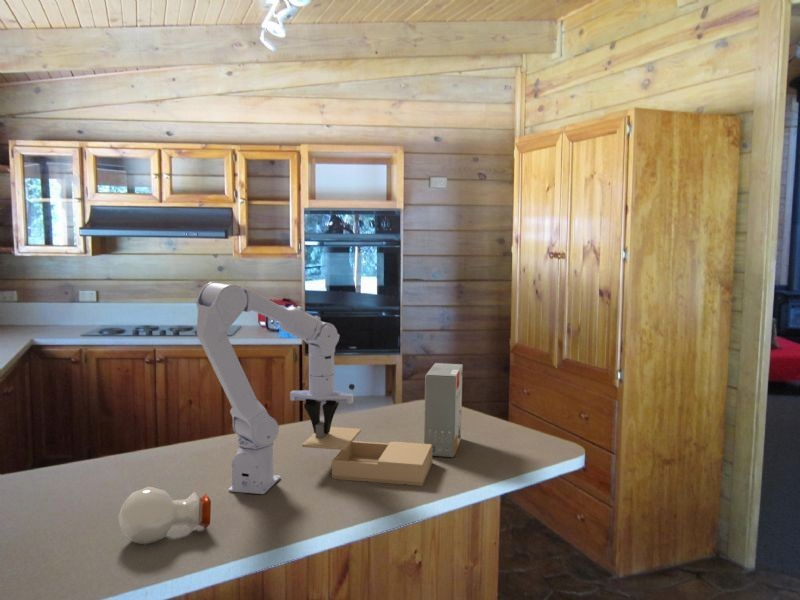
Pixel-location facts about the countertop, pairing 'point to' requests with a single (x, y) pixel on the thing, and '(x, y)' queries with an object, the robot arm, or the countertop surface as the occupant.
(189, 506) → the potion bottle
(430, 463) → the carton
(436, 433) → the hard drive box
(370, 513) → the countertop surface
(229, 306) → the robot arm
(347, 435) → the lid flap
